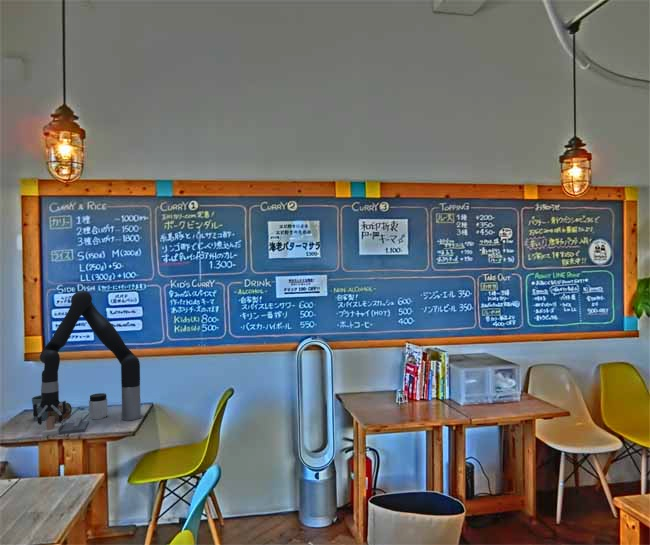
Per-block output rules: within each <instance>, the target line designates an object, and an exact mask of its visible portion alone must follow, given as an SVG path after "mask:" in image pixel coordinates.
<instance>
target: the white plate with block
mask: <svg viewBox="0 0 650 545" xmlns="http://www.w3.org/2000/svg"><path fill="white" fill-rule="evenodd" d="M45 425H46V426H45V428H44V429H43V431H42V432H41V435H42V436H49V435H51V436H52V435H59V431H60V430H61V428H62V427H63V425H64V423H62V422H61V423H55V416H49V417H48V418H47V420H46V424H45Z"/></svg>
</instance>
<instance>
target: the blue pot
mask: <svg viewBox="0 0 650 545" xmlns="http://www.w3.org/2000/svg"><path fill="white" fill-rule="evenodd" d="M35 403H41V394H40V395H36V396H33V397H31V404H32V411H33V410H34V404H35ZM41 411H42V407H41V406H39V407H38V408H37V413H38V414H39V413H40V412H41ZM41 416H42V422H45V420H47V418H48V412H46V411H44V412H43V414H42V415H41ZM33 420H35V422H38V417H36V416H33Z"/></svg>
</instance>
